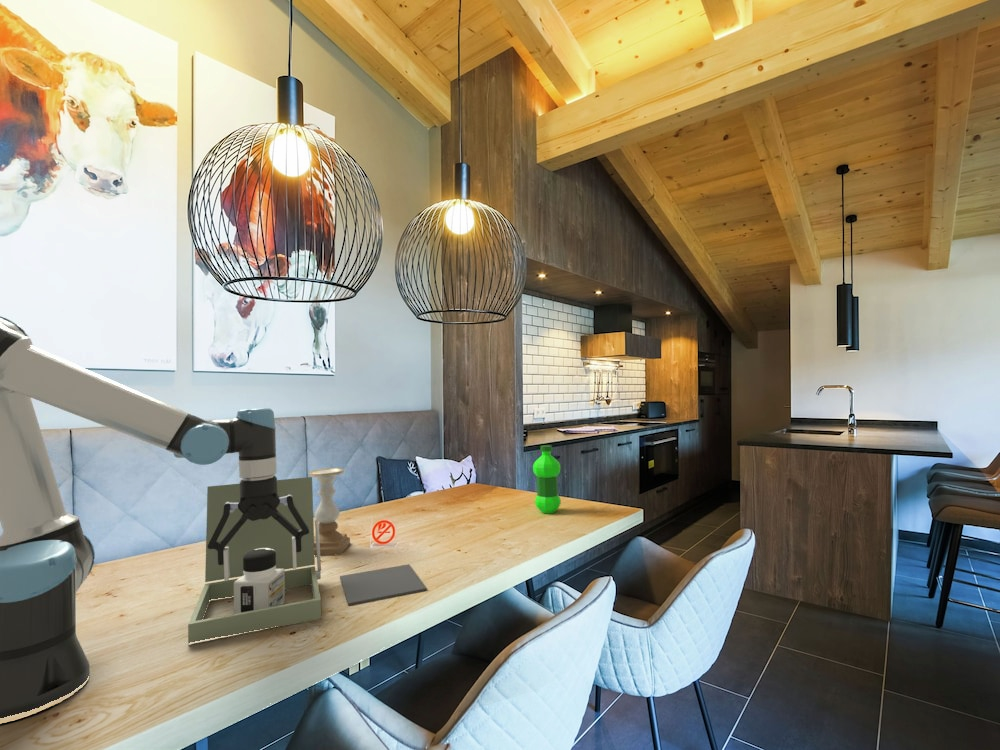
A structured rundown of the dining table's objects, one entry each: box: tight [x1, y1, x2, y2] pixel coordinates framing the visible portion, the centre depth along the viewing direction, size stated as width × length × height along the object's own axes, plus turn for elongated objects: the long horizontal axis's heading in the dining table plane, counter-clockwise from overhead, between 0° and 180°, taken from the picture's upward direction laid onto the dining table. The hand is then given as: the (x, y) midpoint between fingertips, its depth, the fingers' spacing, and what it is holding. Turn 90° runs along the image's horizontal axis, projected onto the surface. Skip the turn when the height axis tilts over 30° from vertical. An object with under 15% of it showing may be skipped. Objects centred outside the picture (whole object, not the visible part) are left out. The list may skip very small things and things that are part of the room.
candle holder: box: [308, 467, 351, 556], centre depth 150 cm, size 11×11×24 cm
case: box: [187, 519, 322, 644], centre depth 111 cm, size 25×25×15 cm
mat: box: [339, 563, 428, 606], centre depth 122 cm, size 18×18×1 cm
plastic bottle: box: [532, 444, 562, 514], centre depth 188 cm, size 10×10×25 cm
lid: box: [204, 476, 316, 583], centre depth 123 cm, size 23×24×2 cm
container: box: [233, 548, 286, 614], centre depth 110 cm, size 8×8×13 cm
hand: (261, 572), depth 110 cm, fingers open, 13 cm apart
